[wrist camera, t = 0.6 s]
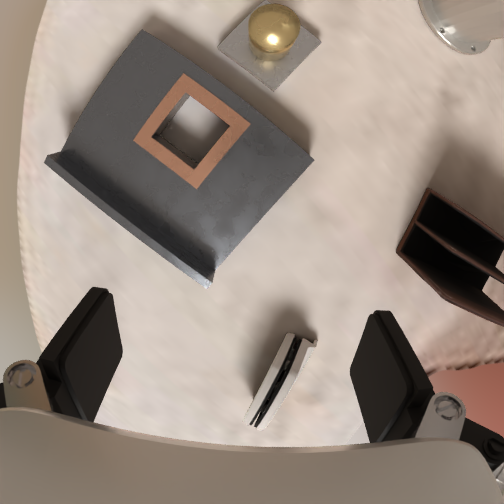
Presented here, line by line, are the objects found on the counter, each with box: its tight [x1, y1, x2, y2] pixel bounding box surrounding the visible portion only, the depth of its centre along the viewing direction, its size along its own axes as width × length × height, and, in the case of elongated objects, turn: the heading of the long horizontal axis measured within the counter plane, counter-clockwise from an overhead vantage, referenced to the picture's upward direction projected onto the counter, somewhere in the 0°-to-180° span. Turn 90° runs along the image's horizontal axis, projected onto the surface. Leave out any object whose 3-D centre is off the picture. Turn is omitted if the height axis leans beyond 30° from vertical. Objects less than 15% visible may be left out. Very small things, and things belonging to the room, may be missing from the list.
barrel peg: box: [248, 4, 300, 61], centre depth 25 cm, size 4×4×7 cm
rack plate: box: [44, 29, 314, 289], centre depth 32 cm, size 18×24×6 cm
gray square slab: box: [217, 0, 321, 92], centre depth 29 cm, size 8×8×2 cm
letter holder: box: [396, 188, 504, 327], centre depth 33 cm, size 10×20×14 cm, turn 69°
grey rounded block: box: [242, 333, 318, 431], centre depth 45 cm, size 17×5×10 cm, turn 163°
